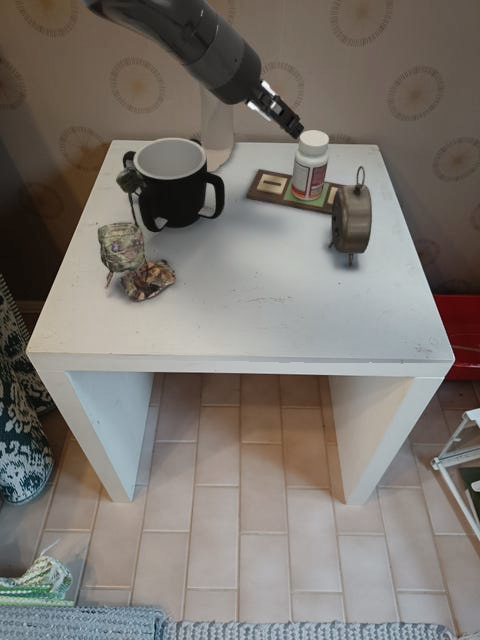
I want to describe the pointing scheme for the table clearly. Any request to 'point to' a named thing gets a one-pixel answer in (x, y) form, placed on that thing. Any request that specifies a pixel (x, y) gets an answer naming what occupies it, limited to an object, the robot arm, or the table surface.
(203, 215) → the mug
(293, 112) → the robot arm
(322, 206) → the board
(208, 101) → the candle
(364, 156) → the table surface
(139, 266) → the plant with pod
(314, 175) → the pill bottle
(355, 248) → the alarm clock
